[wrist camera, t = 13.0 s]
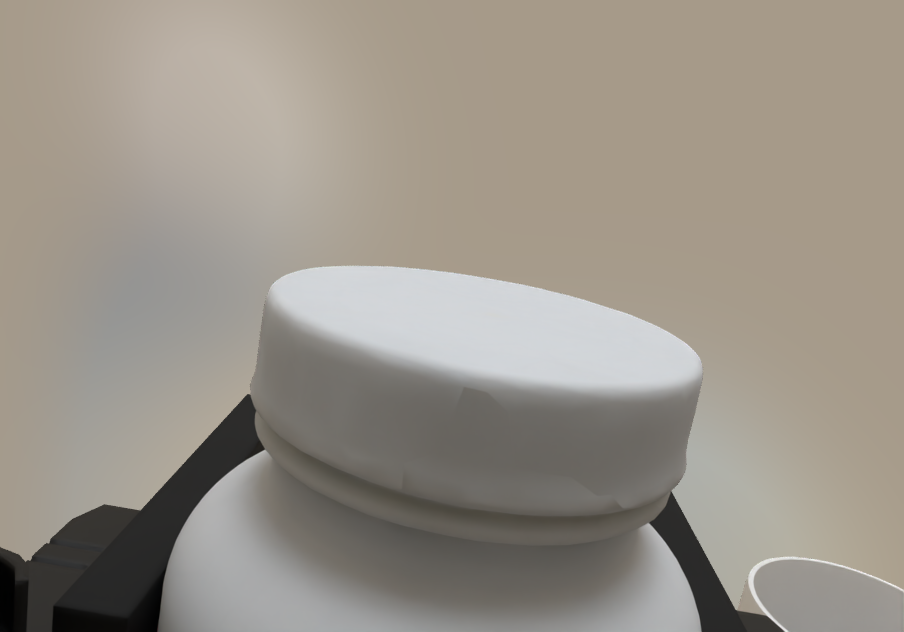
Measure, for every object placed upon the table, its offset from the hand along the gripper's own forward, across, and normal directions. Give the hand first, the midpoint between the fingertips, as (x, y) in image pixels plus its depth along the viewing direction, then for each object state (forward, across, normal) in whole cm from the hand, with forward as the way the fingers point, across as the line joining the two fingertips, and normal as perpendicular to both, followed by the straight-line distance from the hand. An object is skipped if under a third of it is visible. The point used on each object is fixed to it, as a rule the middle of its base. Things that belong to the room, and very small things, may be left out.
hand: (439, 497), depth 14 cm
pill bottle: (-5, 0, -7) cm, 8 cm away
